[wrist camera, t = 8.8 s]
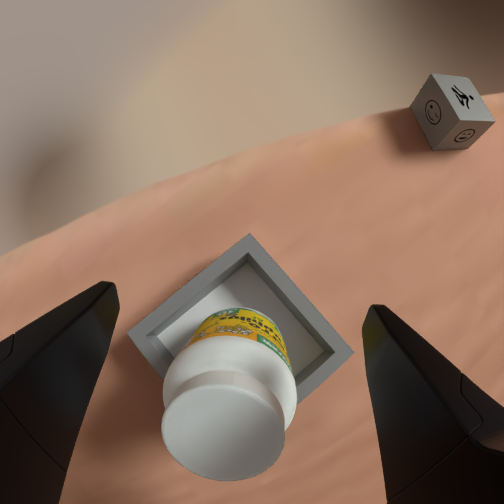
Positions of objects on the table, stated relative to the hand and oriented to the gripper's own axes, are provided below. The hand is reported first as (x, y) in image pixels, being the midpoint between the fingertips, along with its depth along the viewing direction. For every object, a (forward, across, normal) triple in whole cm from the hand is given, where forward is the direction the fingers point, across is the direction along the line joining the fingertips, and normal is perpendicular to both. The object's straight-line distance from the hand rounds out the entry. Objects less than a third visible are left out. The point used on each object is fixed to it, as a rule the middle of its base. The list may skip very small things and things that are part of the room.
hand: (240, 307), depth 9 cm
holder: (+7, 0, +9) cm, 12 cm away
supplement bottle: (+6, 0, +8) cm, 10 cm away
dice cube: (+21, -17, -5) cm, 28 cm away
